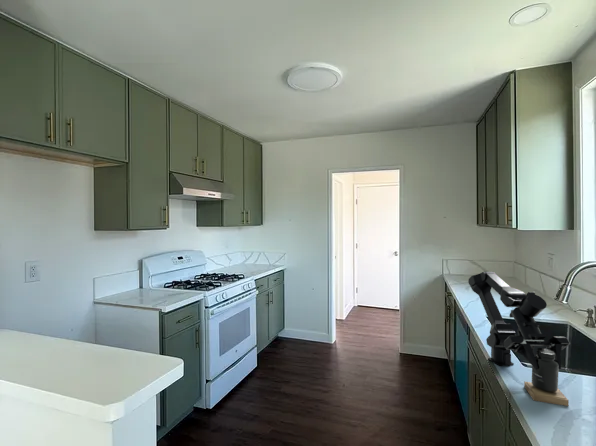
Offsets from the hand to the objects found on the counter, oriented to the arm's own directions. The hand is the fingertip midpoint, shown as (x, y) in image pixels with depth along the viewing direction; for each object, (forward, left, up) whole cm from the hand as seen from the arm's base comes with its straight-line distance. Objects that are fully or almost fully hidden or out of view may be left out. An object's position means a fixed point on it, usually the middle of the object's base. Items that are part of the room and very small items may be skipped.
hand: (548, 369), depth 103 cm
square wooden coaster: (-1, 0, -9) cm, 9 cm away
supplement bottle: (-1, 0, -7) cm, 7 cm away
